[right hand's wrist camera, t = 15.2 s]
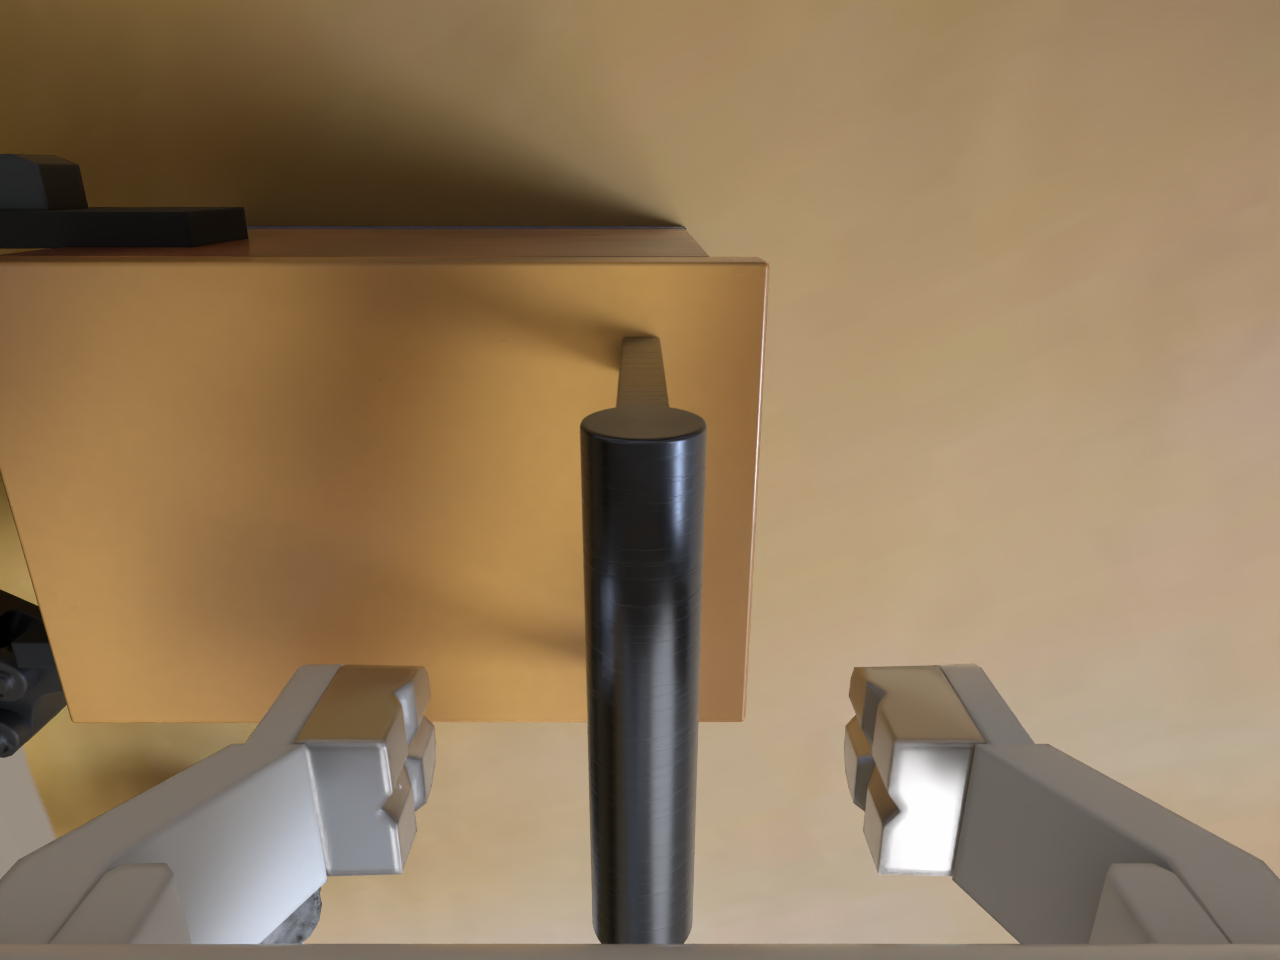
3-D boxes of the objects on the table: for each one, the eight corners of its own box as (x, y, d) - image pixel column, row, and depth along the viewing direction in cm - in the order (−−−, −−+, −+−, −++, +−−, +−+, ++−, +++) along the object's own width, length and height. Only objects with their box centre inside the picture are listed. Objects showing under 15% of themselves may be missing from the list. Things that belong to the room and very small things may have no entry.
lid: (761, 256, 16) (873, 329, 8) (739, 693, 19) (805, 1024, 12) (-15, 256, 16) (-611, 329, 8) (101, 694, 19) (-243, 1026, 12)
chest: (684, 226, 25) (711, 255, 16) (678, 521, 29) (698, 692, 19) (231, 225, 25) (-14, 256, 16) (280, 522, 28) (103, 692, 19)
